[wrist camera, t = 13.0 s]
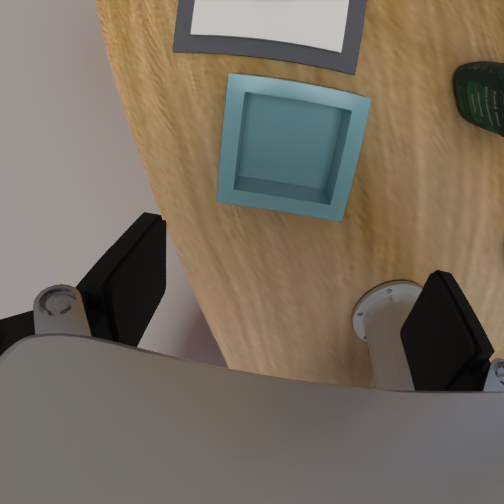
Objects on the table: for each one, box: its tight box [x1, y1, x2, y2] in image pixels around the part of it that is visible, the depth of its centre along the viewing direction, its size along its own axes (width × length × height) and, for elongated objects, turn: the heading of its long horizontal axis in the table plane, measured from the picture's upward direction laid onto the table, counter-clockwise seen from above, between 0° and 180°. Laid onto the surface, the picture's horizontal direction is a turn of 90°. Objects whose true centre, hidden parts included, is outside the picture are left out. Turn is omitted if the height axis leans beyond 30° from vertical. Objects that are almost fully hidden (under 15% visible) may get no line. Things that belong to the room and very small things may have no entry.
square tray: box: [216, 73, 372, 222], centre depth 31 cm, size 13×13×5 cm
